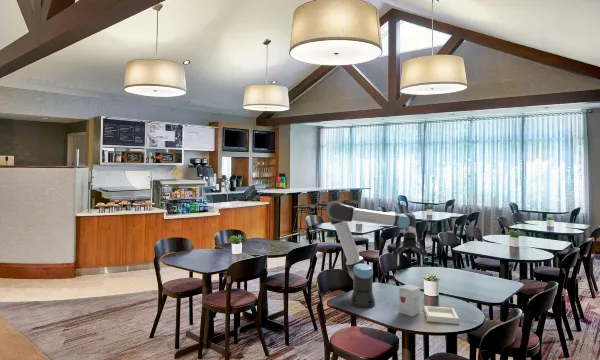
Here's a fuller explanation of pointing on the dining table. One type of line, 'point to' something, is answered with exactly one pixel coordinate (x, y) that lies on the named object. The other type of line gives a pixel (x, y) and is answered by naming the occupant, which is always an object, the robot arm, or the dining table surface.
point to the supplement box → (409, 300)
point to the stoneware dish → (441, 314)
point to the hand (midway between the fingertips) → (409, 265)
